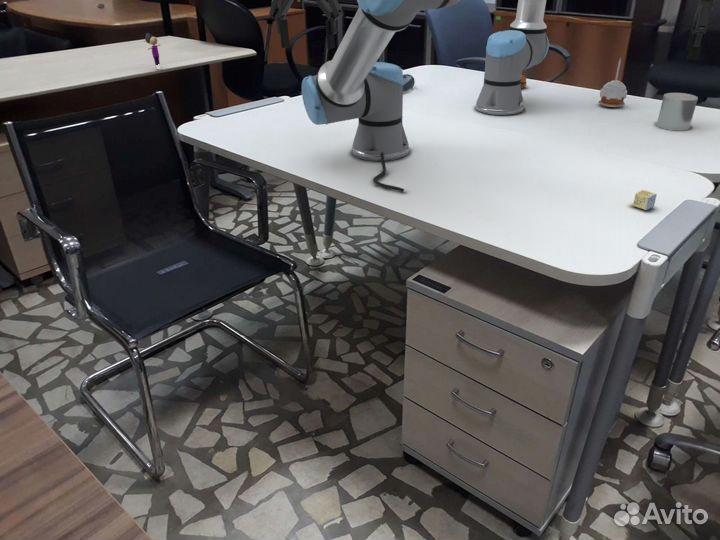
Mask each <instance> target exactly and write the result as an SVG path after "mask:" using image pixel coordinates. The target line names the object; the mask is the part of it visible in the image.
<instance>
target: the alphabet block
mask: <svg viewBox="0 0 720 540" xmlns="http://www.w3.org/2000/svg"><path fill="white" fill-rule="evenodd" d="M657 195H658V194H657V193H655V192H651V191H648V190H645V189H642V190H640V191H637V192H636V193H635V194H634V198H633V203H632V206H633V207H635V208H638V209H640V210H641V209H642V210H644V211H648V210H650V209H652V208H654V207H655V203H656V199H657Z"/></svg>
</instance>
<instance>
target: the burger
mask: <svg viewBox="0 0 720 540" xmlns="http://www.w3.org/2000/svg"><path fill="white" fill-rule="evenodd" d="M520 87H521V89H524V88H526V87H527V77H526V76H525V75H524V74H522V76H521V84H520Z"/></svg>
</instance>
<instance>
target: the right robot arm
mask: <svg viewBox="0 0 720 540" xmlns="http://www.w3.org/2000/svg"><path fill="white" fill-rule="evenodd" d="M715 2H716V0H698V1H697V4H696V11H695V14H694V18H693V22H692V26H691V30H690V35H689V38H688V42H687V46H686V51H688V54H687V58H686V59H687V60H689V61H690V60H691V61H692V60H693V61H699V60H700V56H701V52H702V50H703V49H702V48H703V45H704V41H705V38H706V33H707V32H708V30H709V29H708V28H709V23H710V18H711V14H712V11H713V9H714V5H715ZM546 4H547V0H518V2H517V7H516V8H517V9H516V14H515V19H514V20H513V22H511V23H510V25H509V29H508V30H503V31H496V32H494V33H492V34H491V35H490V36H489V37H488V39H487V44H486V47H485V63H484V76H483V84H482V88H481V90H480V93H479V94H478V97H477V100H476V103H475V109H476V110H477V111H478V112H481V113H483V114H487V115H493V116H512V115H516V114H517V115H518V114H521V113H522V112H523V111H524V107H525V105H524V104H525V100H524V97H523V92H522V88H521V87H520V84H521V76H522V75H523V71H526V70H528V69H532V68H534V67H536V66H537V65H539V64H540V63H542V62H543V60H544V59H545V58H546V56H547V54H548V53H549V47H550V42H549V41H550V40H549V38H548V36H547V28H548V26H547V24H546V23H545V22H544V16H545V11H546Z"/></svg>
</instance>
